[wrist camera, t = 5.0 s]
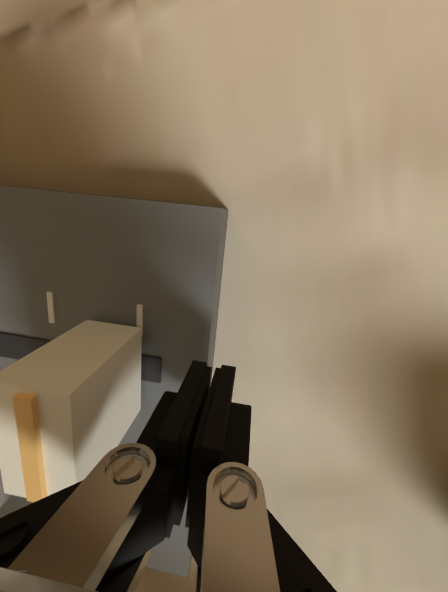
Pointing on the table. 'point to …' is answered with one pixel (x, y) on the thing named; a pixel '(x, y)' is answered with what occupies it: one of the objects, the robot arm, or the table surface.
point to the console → (113, 293)
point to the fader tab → (67, 407)
